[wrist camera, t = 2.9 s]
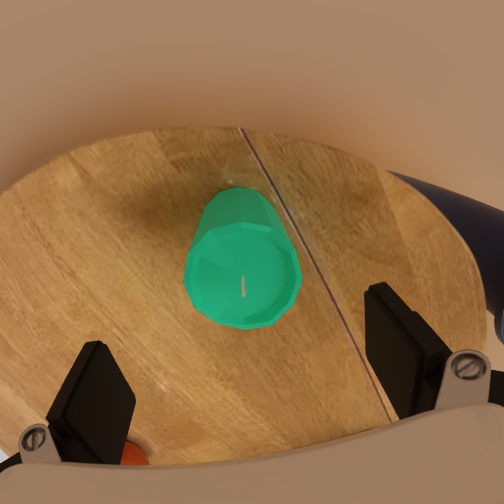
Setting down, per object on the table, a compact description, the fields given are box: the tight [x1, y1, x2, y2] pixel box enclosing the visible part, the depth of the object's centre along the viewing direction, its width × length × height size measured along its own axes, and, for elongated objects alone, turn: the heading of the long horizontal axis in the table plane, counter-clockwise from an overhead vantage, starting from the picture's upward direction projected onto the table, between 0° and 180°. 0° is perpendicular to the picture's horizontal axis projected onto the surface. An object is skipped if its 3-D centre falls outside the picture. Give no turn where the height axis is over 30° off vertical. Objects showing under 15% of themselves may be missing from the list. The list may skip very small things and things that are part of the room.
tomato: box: [120, 441, 149, 465], centre depth 32 cm, size 7×7×8 cm
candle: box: [183, 186, 303, 330], centre depth 20 cm, size 6×6×12 cm
